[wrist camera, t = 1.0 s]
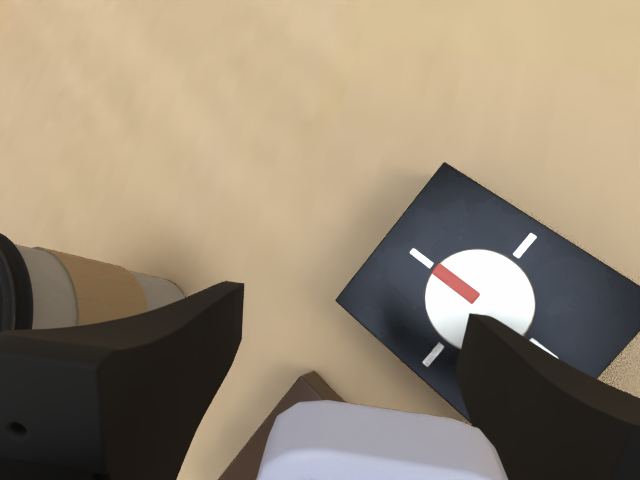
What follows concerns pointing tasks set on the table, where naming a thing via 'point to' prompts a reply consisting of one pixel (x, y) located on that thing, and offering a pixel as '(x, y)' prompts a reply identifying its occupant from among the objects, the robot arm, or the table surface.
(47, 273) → the coffee cup
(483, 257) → the dial
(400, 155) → the table surface
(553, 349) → the panel
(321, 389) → the button box
